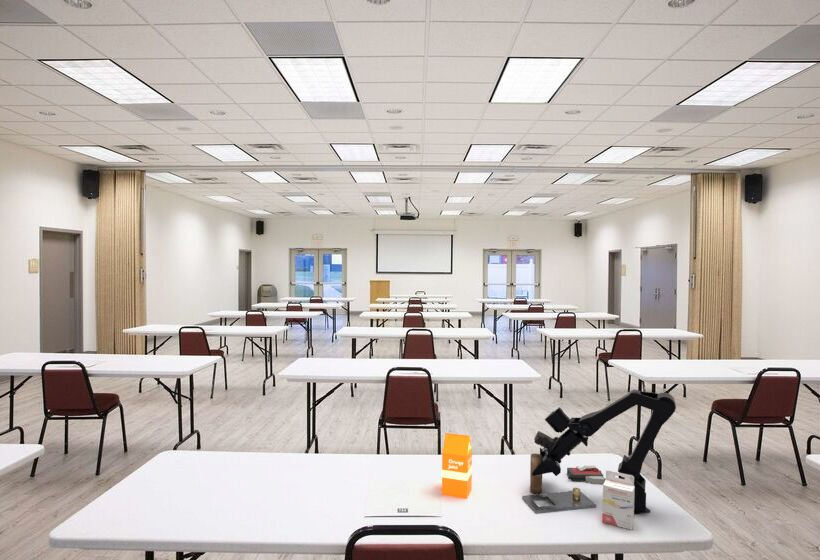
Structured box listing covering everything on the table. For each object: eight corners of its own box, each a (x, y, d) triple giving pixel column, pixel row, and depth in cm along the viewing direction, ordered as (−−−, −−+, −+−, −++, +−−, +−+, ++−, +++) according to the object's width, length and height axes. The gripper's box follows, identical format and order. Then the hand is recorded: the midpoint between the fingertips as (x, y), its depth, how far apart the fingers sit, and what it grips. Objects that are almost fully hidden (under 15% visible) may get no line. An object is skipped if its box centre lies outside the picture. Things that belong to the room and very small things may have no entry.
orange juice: (467, 498, 162) (467, 439, 161) (441, 494, 164) (441, 436, 164) (471, 488, 169) (472, 432, 169) (447, 485, 172) (447, 429, 171)
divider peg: (544, 493, 166) (544, 457, 165) (533, 494, 165) (533, 458, 165) (538, 488, 170) (539, 453, 169) (528, 489, 169) (528, 453, 168)
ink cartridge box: (601, 522, 147) (602, 474, 146) (604, 515, 151) (604, 469, 151) (632, 530, 142) (633, 481, 142) (634, 523, 147) (635, 475, 146)
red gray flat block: (570, 484, 174) (626, 485, 173) (570, 472, 173) (626, 473, 173) (563, 474, 182) (617, 475, 182) (563, 462, 182) (617, 463, 182)
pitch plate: (596, 507, 156) (596, 495, 156) (535, 513, 152) (535, 500, 152) (579, 493, 166) (579, 481, 166) (522, 498, 162) (522, 486, 162)
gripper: (547, 417, 175) (515, 445, 178) (550, 434, 157) (515, 465, 159) (569, 440, 173) (537, 468, 176) (575, 460, 155) (539, 491, 158)
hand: (532, 472), depth 167 cm, fingers closed on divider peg, 4 cm apart
